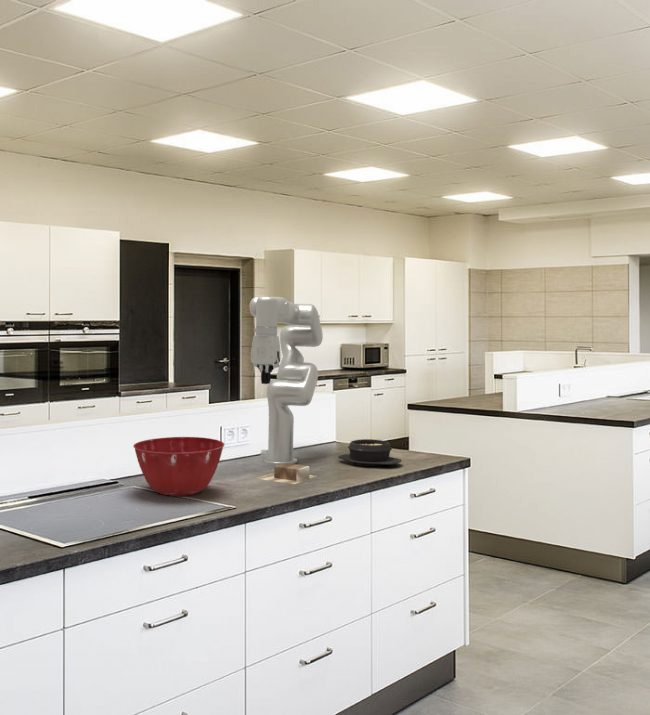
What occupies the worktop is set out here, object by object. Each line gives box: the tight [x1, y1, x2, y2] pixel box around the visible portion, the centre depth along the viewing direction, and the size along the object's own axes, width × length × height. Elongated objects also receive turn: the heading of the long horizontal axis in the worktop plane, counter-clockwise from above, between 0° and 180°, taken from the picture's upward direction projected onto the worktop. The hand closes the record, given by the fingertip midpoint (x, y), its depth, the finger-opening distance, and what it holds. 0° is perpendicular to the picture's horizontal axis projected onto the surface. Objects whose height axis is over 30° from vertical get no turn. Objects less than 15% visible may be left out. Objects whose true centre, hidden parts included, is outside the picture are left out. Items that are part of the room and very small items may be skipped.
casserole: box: [338, 438, 402, 467], centre depth 315 cm, size 25×19×8 cm
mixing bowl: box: [132, 436, 225, 497], centre depth 262 cm, size 28×28×16 cm
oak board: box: [254, 472, 318, 485], centre depth 285 cm, size 16×16×1 cm
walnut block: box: [273, 463, 311, 481], centre depth 283 cm, size 4×7×10 cm
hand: (265, 383), depth 292 cm, fingers closed
